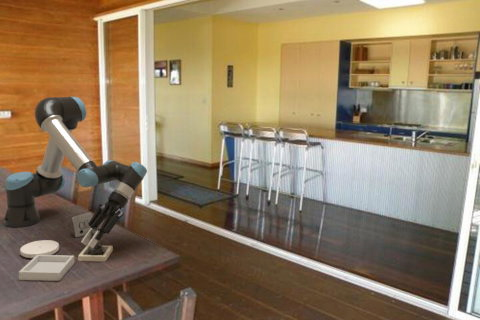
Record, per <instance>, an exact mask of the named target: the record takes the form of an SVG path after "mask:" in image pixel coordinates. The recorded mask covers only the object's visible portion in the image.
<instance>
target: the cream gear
mask: <svg viewBox="0 0 480 320" xmlns="http://www.w3.org/2000/svg"><path fill="white" fill-rule="evenodd" d="M59 250H60V244H59V242H57V241H55V240H51V239H50V240H49V239H48V240H47V239H43V240H42V239H41V240H35V241H31V242H27V243H26V244H24V245H22V246H21V247H20V249H19V251H20V255H21V256H22V257H24V258H28V259H33V258H34V257H35V256H36V255H55V254H56V253H57V252H58V251H59Z"/></svg>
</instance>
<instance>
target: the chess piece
mask: <svg viewBox="0 0 480 320" xmlns="http://www.w3.org/2000/svg"><path fill="white" fill-rule="evenodd" d="M98 229H99V228H97V229H96V228H94V229H93V230H92V232H91V235H92V238H93V236H94V235H95V233H96V232H97V230H98ZM98 231H99V230H98ZM92 238H91V239H92ZM100 241H101V239H100V240H99V241H98V242H97V243H96V245H95V246H94V248H91V247H90V246H89V247H88V249H89V252H88V253H90V254H89V255H104V253H102V252H103V251H102V250H103V247H104V246H105V245H103V244H101V242H100Z"/></svg>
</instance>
